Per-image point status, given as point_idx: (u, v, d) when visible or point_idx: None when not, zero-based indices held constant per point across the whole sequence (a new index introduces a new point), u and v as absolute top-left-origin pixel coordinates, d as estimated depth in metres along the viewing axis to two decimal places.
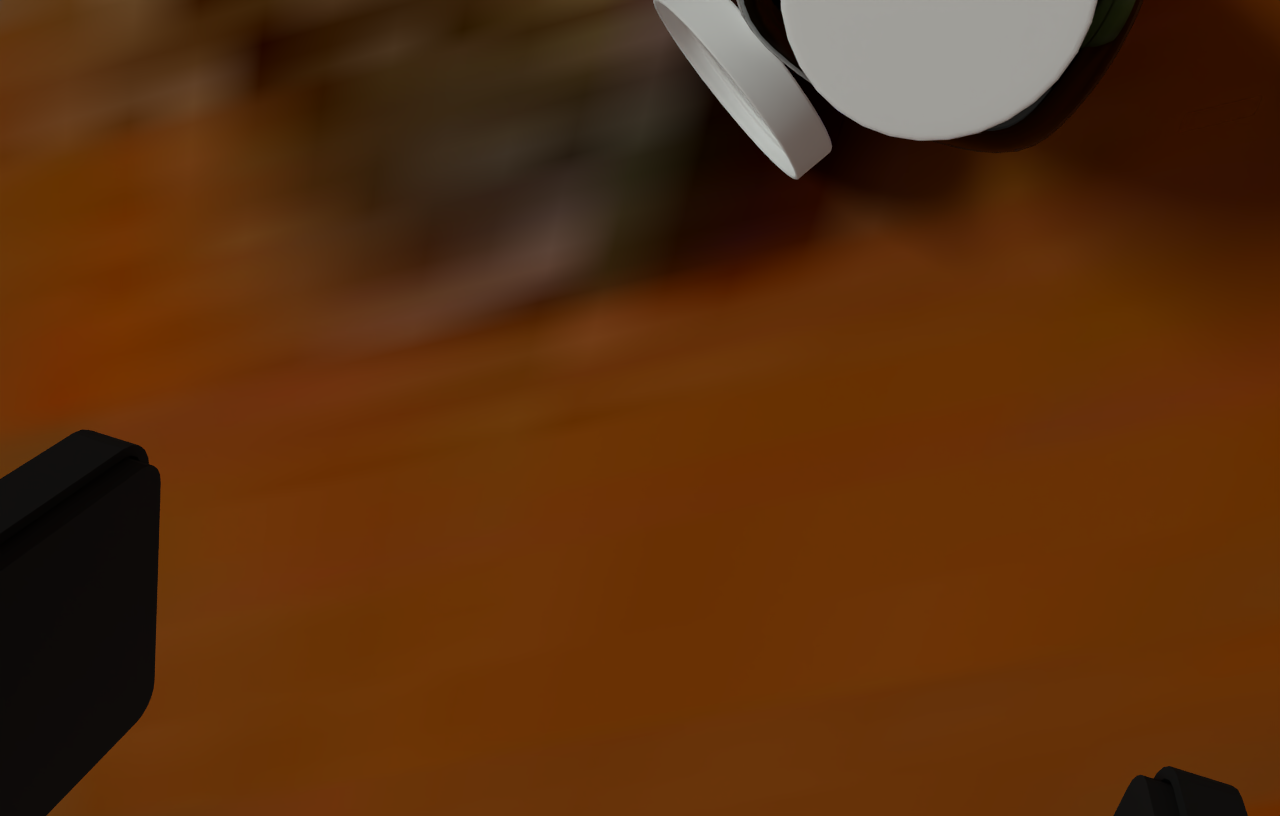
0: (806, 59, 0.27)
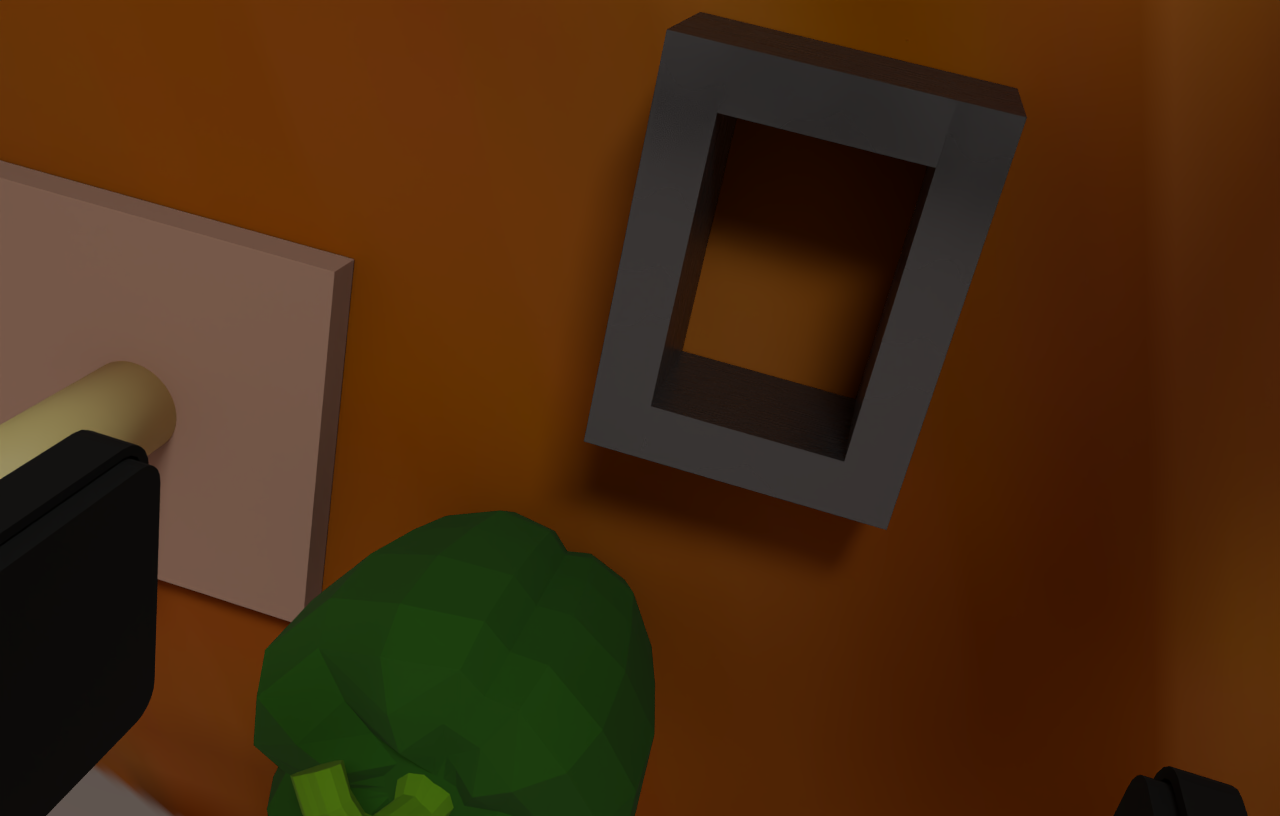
0: None
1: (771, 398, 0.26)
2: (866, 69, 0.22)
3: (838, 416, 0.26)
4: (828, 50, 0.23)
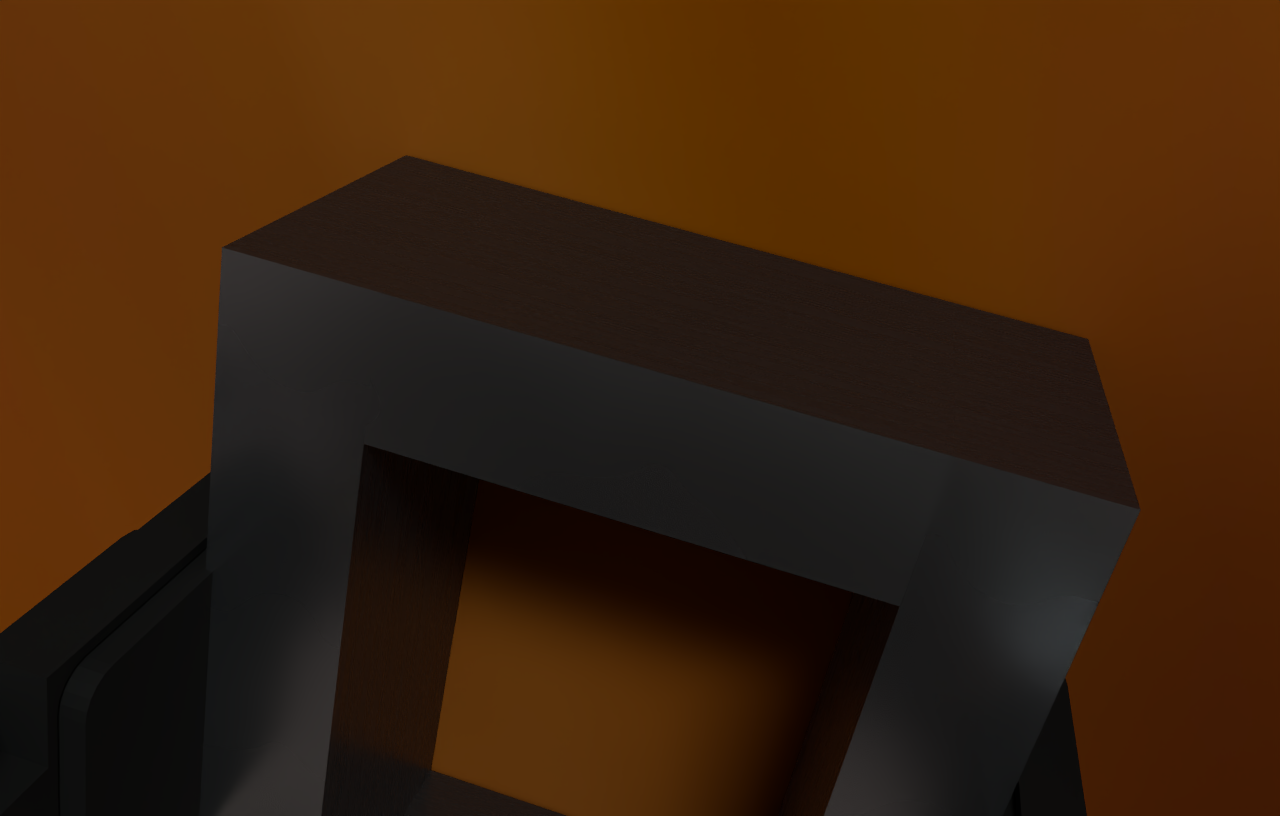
0: None
1: None
2: (732, 337, 0.09)
3: None
4: (661, 261, 0.10)
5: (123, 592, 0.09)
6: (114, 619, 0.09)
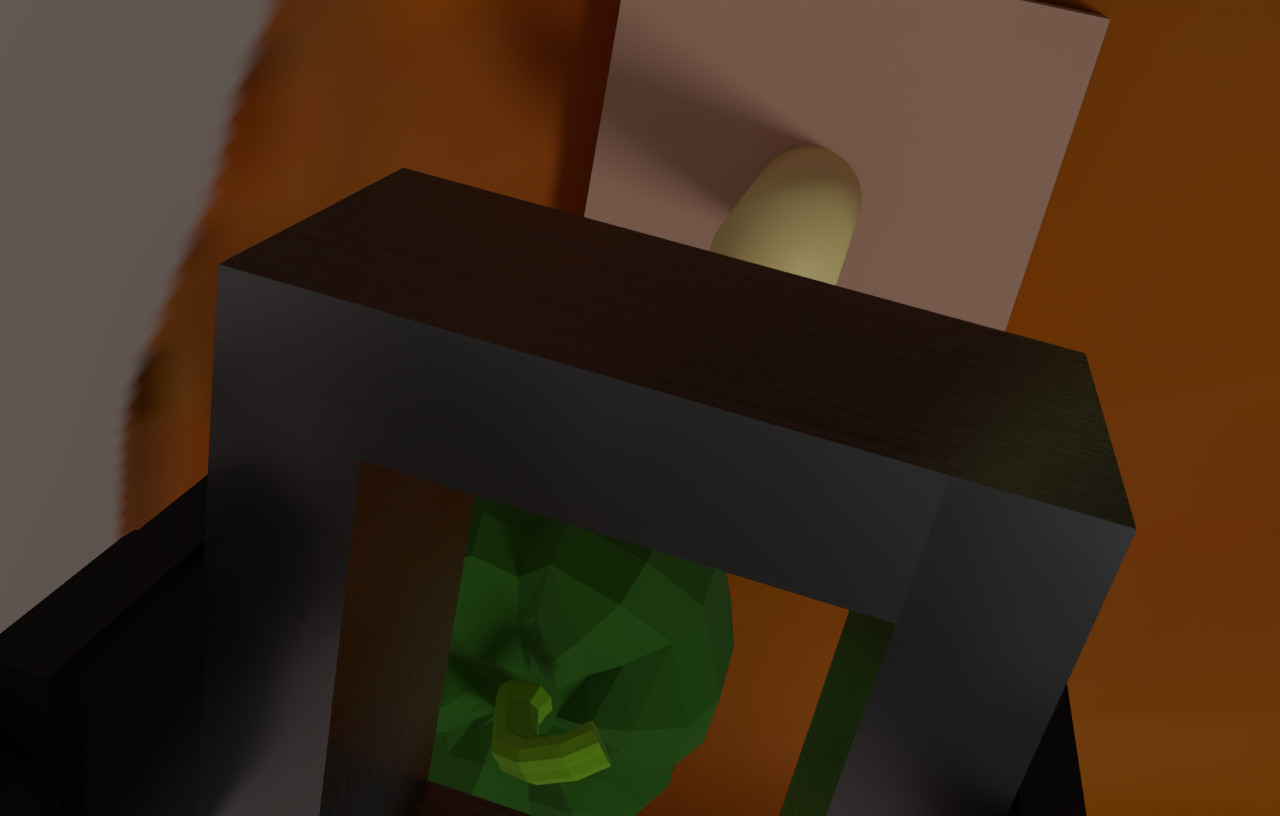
0: None
1: None
2: (729, 353, 0.09)
3: None
4: (658, 276, 0.10)
5: (123, 592, 0.09)
6: (114, 621, 0.09)
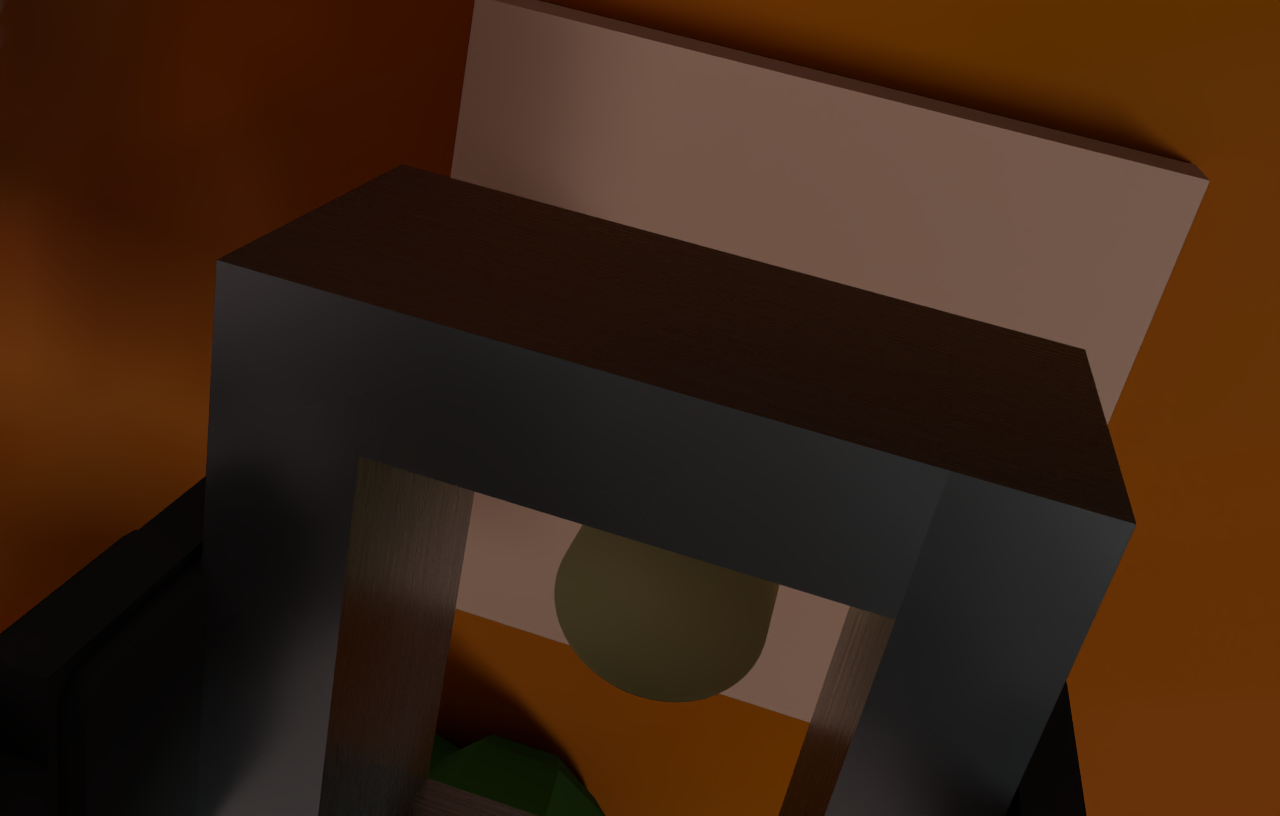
0: None
1: None
2: (727, 349, 0.09)
3: None
4: (657, 272, 0.10)
5: (123, 592, 0.09)
6: (114, 621, 0.09)
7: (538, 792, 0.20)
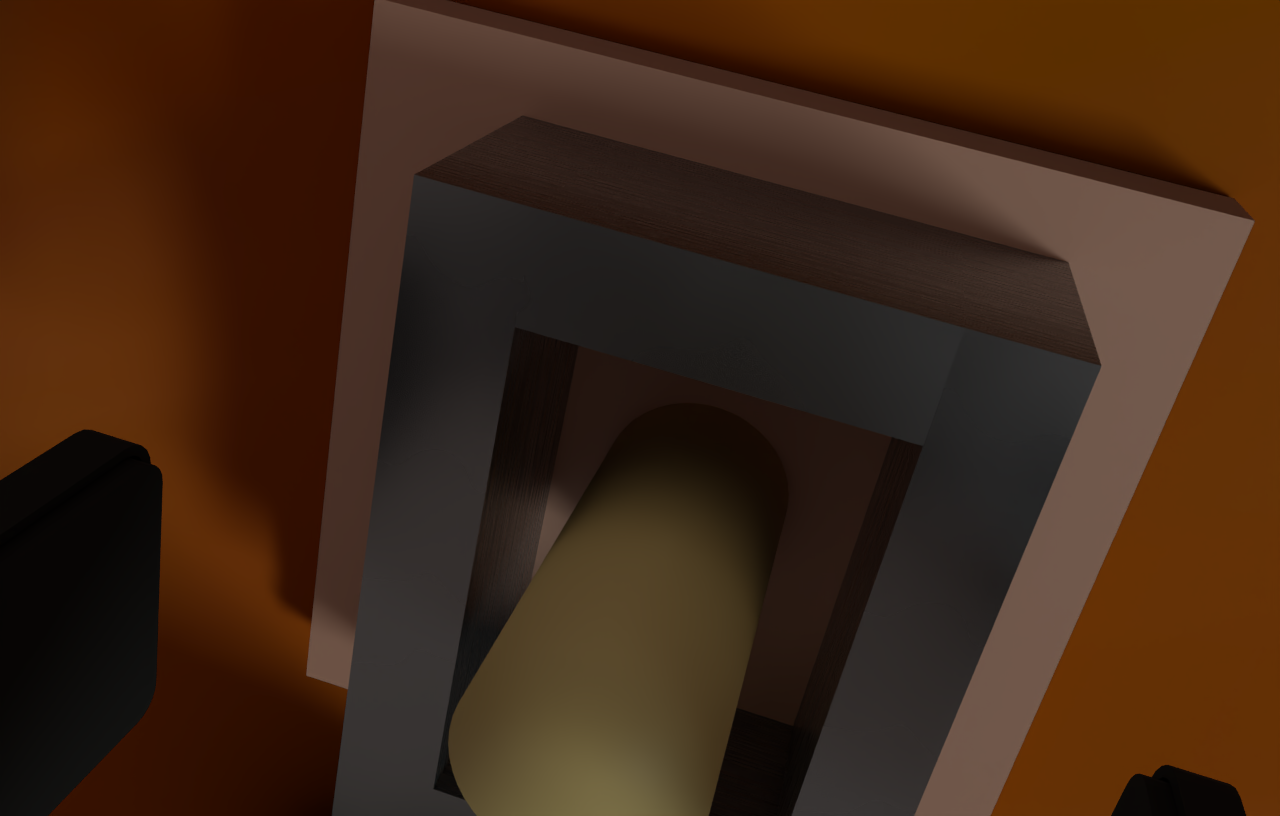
0: None
1: None
2: (795, 247, 0.12)
3: (760, 776, 0.16)
4: (734, 196, 0.13)
5: None
6: None
7: None
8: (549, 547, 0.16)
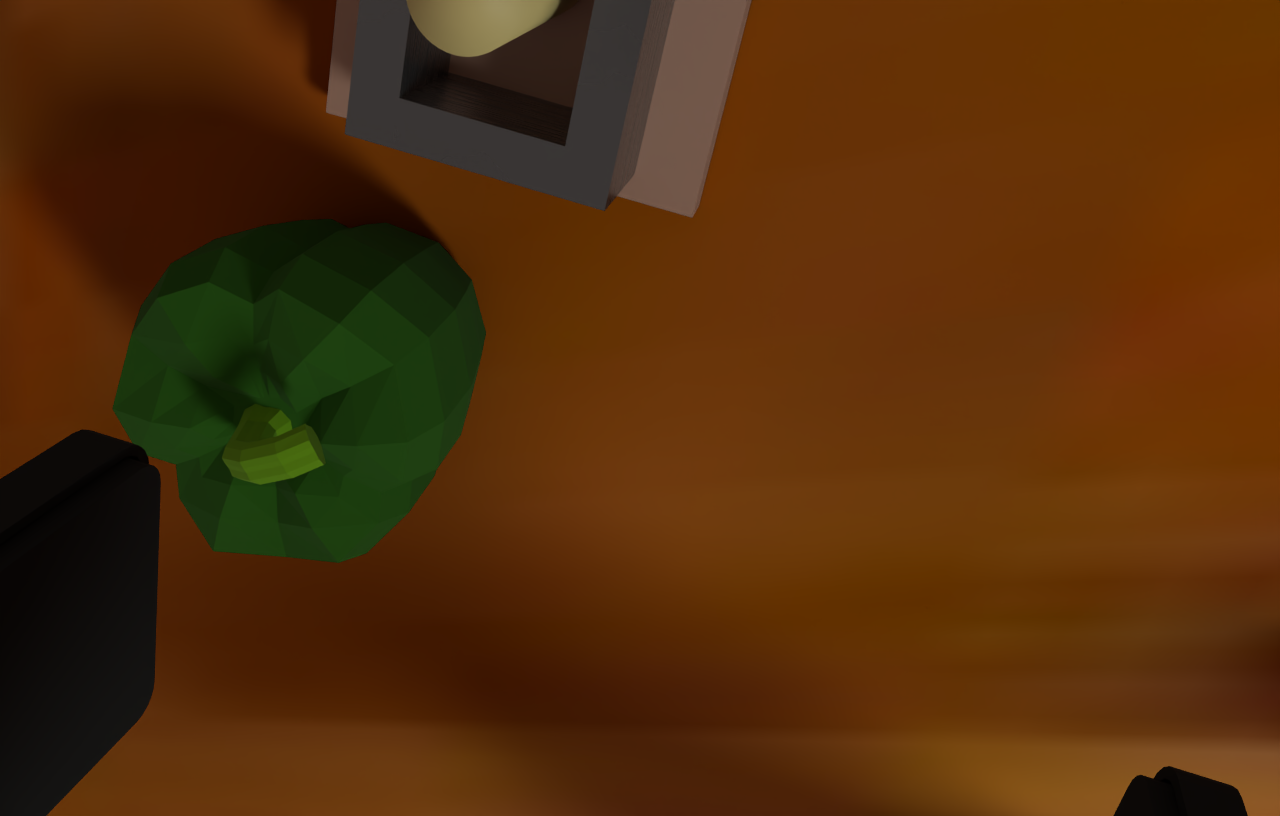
0: None
1: (518, 106, 0.29)
2: None
3: None
4: None
5: None
6: None
7: (422, 243, 0.31)
8: None
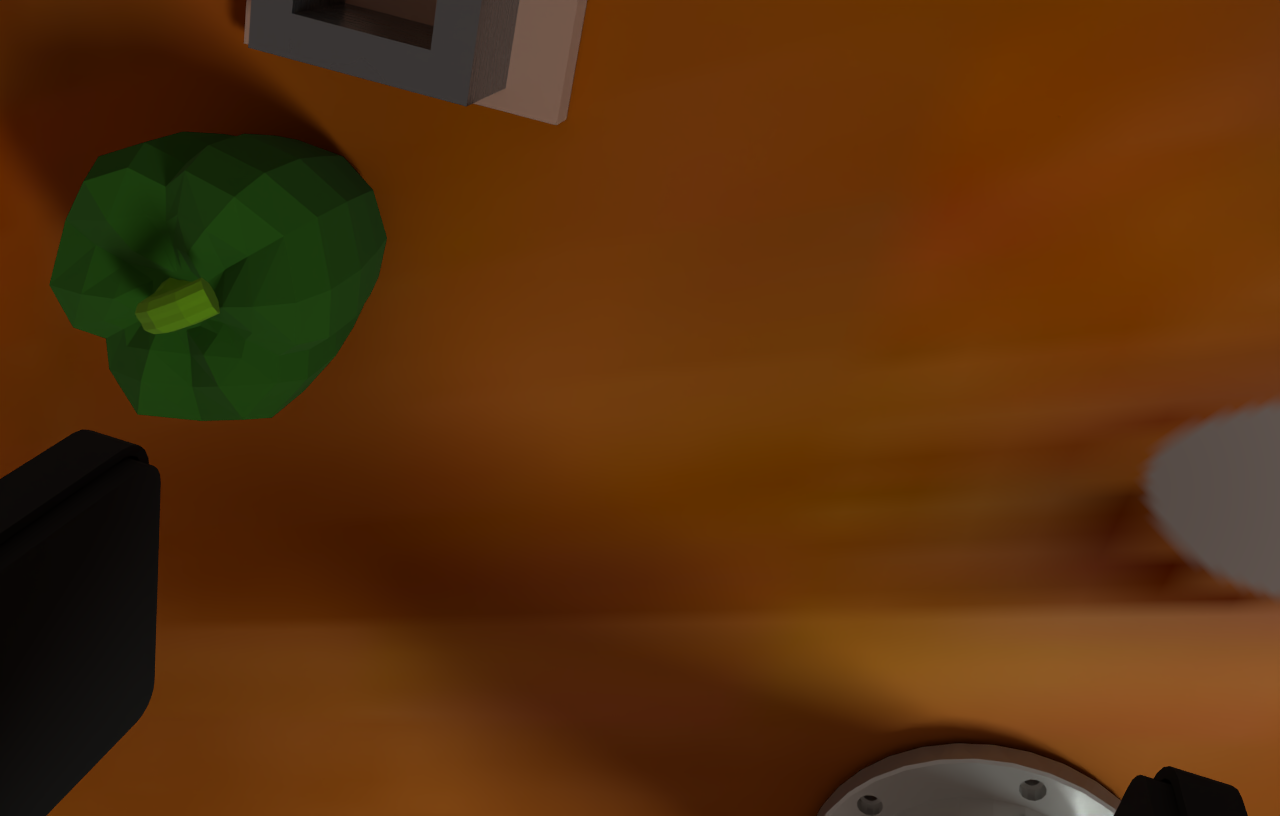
0: None
1: (399, 25, 0.34)
2: None
3: None
4: None
5: None
6: None
7: (325, 153, 0.36)
8: None
